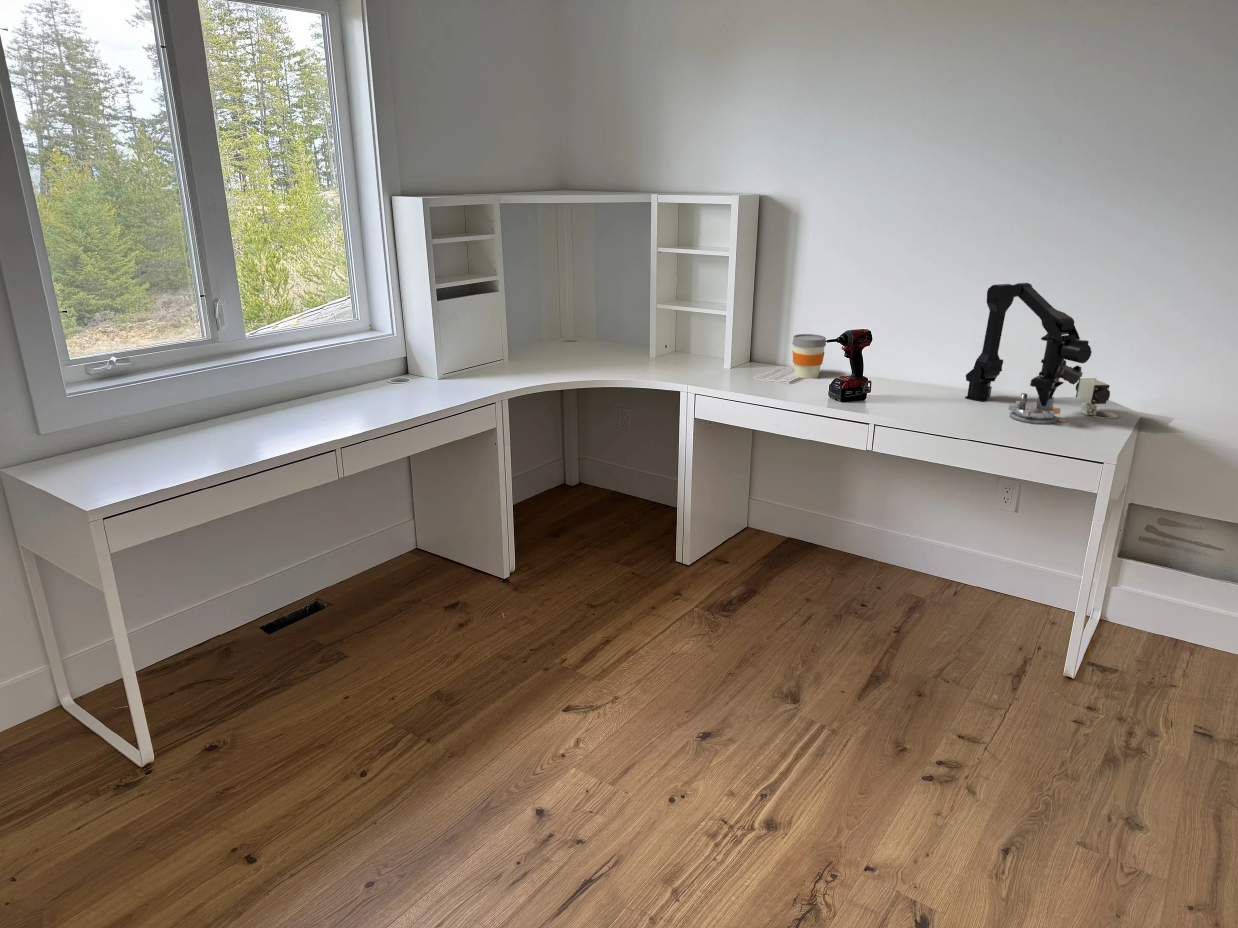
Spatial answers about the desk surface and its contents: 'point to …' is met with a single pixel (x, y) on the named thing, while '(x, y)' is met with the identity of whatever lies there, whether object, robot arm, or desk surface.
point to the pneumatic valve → (1092, 394)
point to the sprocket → (1032, 410)
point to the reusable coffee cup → (808, 354)
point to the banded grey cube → (1048, 405)
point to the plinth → (1034, 421)
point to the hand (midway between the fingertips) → (1045, 404)
